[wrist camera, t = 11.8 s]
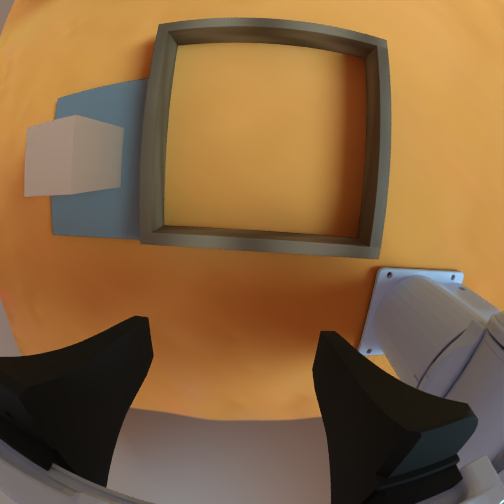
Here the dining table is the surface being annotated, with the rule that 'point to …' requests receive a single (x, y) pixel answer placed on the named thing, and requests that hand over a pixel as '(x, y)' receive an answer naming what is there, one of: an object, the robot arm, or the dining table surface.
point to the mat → (128, 195)
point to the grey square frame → (272, 33)
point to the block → (72, 157)
